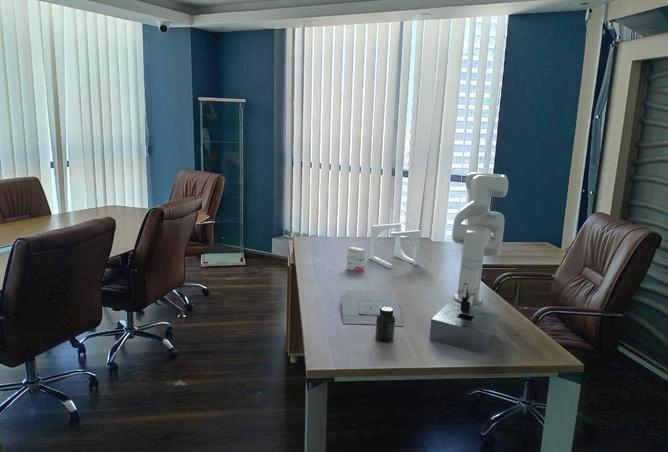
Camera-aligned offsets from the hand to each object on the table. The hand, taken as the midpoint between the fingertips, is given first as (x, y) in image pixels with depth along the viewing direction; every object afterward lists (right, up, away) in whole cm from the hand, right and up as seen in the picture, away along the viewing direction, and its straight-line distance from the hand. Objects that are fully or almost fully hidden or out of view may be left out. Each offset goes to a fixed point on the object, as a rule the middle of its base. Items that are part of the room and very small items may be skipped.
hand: (466, 309), depth 187 cm
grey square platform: (-1, -11, +3) cm, 11 cm away
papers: (-35, -5, +23) cm, 42 cm away
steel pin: (0, -1, 0) cm, 1 cm away
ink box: (-39, +8, +80) cm, 89 cm away
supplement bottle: (-31, -11, -3) cm, 33 cm away
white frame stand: (-16, +11, +99) cm, 100 cm away
